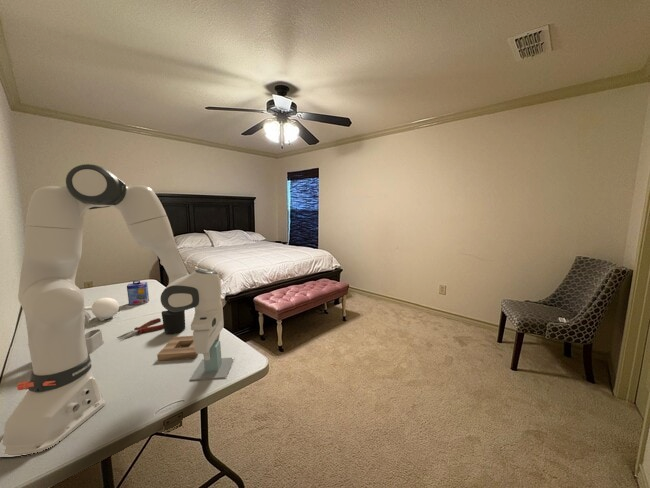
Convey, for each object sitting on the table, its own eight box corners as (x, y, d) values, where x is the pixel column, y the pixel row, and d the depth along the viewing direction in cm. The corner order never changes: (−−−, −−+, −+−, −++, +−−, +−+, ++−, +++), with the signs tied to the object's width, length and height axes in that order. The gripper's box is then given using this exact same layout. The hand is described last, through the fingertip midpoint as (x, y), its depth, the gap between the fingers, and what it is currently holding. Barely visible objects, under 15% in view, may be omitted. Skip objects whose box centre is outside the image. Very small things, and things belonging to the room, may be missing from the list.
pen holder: (165, 328, 129) (163, 308, 128) (187, 324, 132) (185, 305, 131) (161, 336, 120) (159, 315, 119) (184, 333, 123) (182, 312, 122)
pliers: (113, 337, 121) (112, 332, 120) (159, 321, 138) (159, 316, 137) (124, 344, 115) (123, 339, 114) (171, 326, 132) (171, 321, 131)
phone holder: (106, 342, 116) (101, 302, 114) (91, 354, 106) (85, 311, 104) (60, 346, 113) (53, 306, 110) (40, 359, 103) (32, 315, 101)
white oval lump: (120, 321, 142) (109, 317, 150) (125, 298, 144) (113, 296, 152) (91, 322, 131) (80, 318, 139) (96, 298, 133) (85, 295, 141)
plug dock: (196, 358, 102) (195, 352, 102) (157, 360, 101) (157, 354, 101) (208, 340, 116) (207, 334, 116) (174, 342, 115) (174, 336, 115)
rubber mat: (226, 378, 90) (226, 376, 90) (189, 380, 89) (189, 379, 89) (234, 358, 102) (234, 357, 102) (202, 360, 101) (202, 359, 101)
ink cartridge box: (128, 305, 160) (125, 282, 158) (130, 302, 165) (127, 280, 163) (147, 302, 164) (145, 280, 162) (149, 300, 169) (146, 278, 167)
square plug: (218, 371, 93) (216, 347, 92) (204, 372, 93) (202, 348, 92) (221, 363, 98) (220, 340, 97) (209, 364, 97) (207, 341, 96)
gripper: (209, 304, 103) (212, 338, 104) (188, 328, 82) (191, 369, 84) (226, 303, 103) (228, 337, 105) (209, 326, 83) (212, 367, 85)
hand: (212, 351), depth 95 cm, fingers open, 8 cm apart
